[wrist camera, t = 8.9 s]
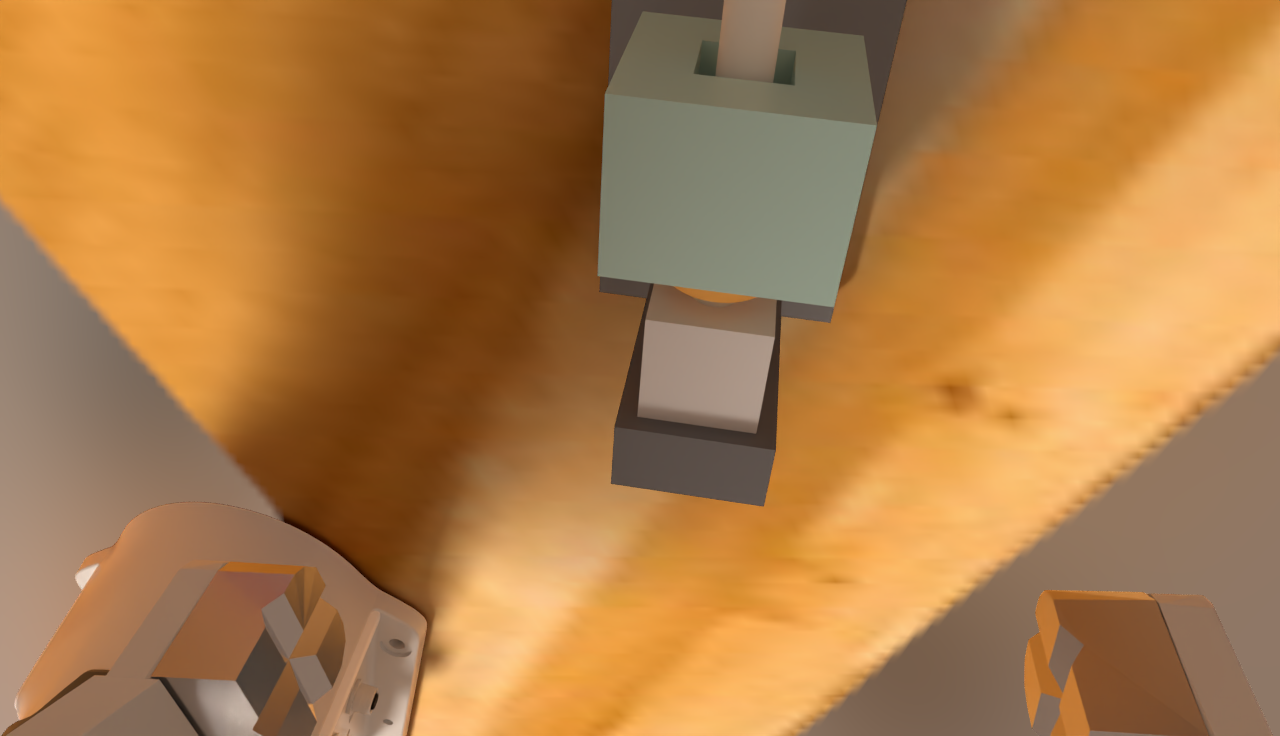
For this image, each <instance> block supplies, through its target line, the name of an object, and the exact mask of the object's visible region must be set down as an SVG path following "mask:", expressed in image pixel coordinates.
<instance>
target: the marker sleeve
mask: <svg viewBox="0 0 1280 736" xmlns="http://www.w3.org/2000/svg"><path fill="white" fill-rule="evenodd" d="M721 23H722V20H717V19H708V18H699V17H690V16H681V15H672V14H663V13H654V12H645V11H643V12H642V14H641V16H640V18H639V21H638V23H637V25H636V27H635V29H634V32H633V34H632V36H631V38H630V40H629V42H628V45H627V47H626V49H625V51H624V53H623V55H622V58H621V60H620V62H619V64H618V66H617V68H616V71H615V73H614V75H613V77H612V79H611V81H610V84H609V86H608V88H607V90H606V92H605V104H604V128H603V153H602V178H601V202H600V227H599V252H598V276H601V277H609V278H617V279H624V280H632V281H639V282H647V283H654V284H662V285H669V286H677V287H684V288H692V289H700V290H707V291H715V292H722V293H730V294H737V295H745V296H752V297H760V298H767V299H775V300H783V301H790V302H798V303H805V304H813V305H820V306H828V307H834V305H835V301H836V296H837V292H838V288H839V284H840V279H841V275H842V271H843V267H844V263H845V258H846V254H847V250H848V246H849V241H850V237H851V233H852V229H853V225H854V220H855V216H856V212H857V208H858V203H859V199H860V195H861V191H862V187H863V182H864V178H865V174H866V170H867V165H868V161H869V157H870V153H871V149H872V144H873V140H874V136H875V132H876V127H877V123H876V116H875V109H874V102H873V96H872V89H871V82H870V75H869V69H868V62H867V55H866V48H865V42H864V36H862V35H853V34H844V33H834V32H825V31H816V30H807V29H798V28H789V27H782V29H781V36H780V42H779V48H778V55H777V61H776V67H775V74H774V80H773V83H768V82H760V81H751V80H742V79H734V78H725V77H716V76H715V74H716V66H717V57H718V49H719V40H720V31H721Z"/></svg>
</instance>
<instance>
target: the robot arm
mask: <svg viewBox="0 0 1280 736" xmlns="http://www.w3.org/2000/svg"><path fill="white" fill-rule="evenodd" d="M75 579H76V582H77V583H78V585H79V587H80V588H81V589H82V591H81V593H80V595H79V596H78V597H77V599H76V601H75V602H74V604H73V605H72V607H71V608H70V610H69V612H68V613H67V615H66V616H65V618H64V619H63V621H62V622H61V624H60V626H59V627H58V629H57V630H56V632H55V633H54V635H53V636H52V638H51V640H50V641H49V643H48V644H47V646H46V648H45V649H44V651H43V652H42V654H41V656H40V657H39V659H38V660H37V662H36V663H35V665H34V667H33V669H32V670H31V671H30V673H29V675H28V676H27V678H26V680H25V681H24V683H23V684H22V686H21V688H20V689H19V691H18V693H17V696H16V699H15V708H16V710H17V715H18V718H19V721H17V722H15V723H14V724H12V725H11V726H9V727H8V728H7V729H6V731H5V732H4V733H3V734H2V736H407V731H408V726H409V720H410V715H411V710H412V705H413V699H414V694H415V689H416V683H417V678H418V673H419V668H420V662H421V657H422V652H423V646H424V641H425V636H426V631H427V622H426V620H425V618H424V617H423V616H422V615H421V614H420V613H419V612H418V611H416V610H415V609H413V608H412V607H410V606H409V605H407V604H405V603H404V602H402V601H400V600H398V599H396V598H394V597H393V596H391V595H389V594H387V593H385V592H383V591H381V590H379V589H378V588H377V587H375V586H374V585H373V584H372V583H370V582H369V581H368V580H367V579H366V578H365V577H364V576H363V575H362V574H361V573H360V572H359V571H357V570H356V569H355V568H354V567H353V566H352V565H351V564H350V563H349V562H348V561H347V560H345V559H344V558H343V557H342V556H340V555H339V554H338V553H337V552H335V551H334V550H332V549H331V548H330V547H328V546H327V545H325V544H324V543H322V542H321V541H319V540H317V539H316V538H314V537H312V536H311V535H309V534H307V533H305V532H303V531H301V530H299V529H297V528H295V527H293V526H291V525H289V524H287V523H285V522H282V521H280V520H277V519H275V518H272V517H269V516H267V515H264V514H260V513H257V512H254V511H251V510H247V509H243V508H239V507H234V506H229V505H224V504H217V503H207V502H180V503H171V504H166V505H161V506H158V507H155V508H152V509H149V510H147V511H145V512H143V513H141V514H140V515H138V516H136V517H135V518H134V519H133V520H132V521H131V522H130V523H129V524H128V525H127V526H126V528H125V529H124V531H123V532H122V534H121V536H120V537H119V539H118V541H117V542H116V543H115V544H114V545H113V546H112V547H110V548H107V549H104V550H101V551H98V552H96V553H93V554H91V555H90V556H88V557H87V558H86V559H85V560H84V562H83V563H82V565H81V566H80V568H79V570H78V571H77V573H76V575H75ZM1035 614H1036V618H1037V622H1038V626H1039V631H1040V632H1039V633H1038V634H1036V635H1035V636H1034V637H1032V638H1030V639H1029V641H1028V646H1027V651H1026V656H1025V681H1024V682H1025V683H1024V685H1025V693H1026V701H1027V707H1028V712H1029V716H1030V721H1031V726H1032V729H1033V730H1034V731H1035V732H1036V733H1037V734H1038V735H1039V736H1273V734H1272V732H1271V730H1270V728H1269V725H1268V723H1267V721H1266V719H1265V717H1264V715H1263V712H1262V710H1261V708H1260V706H1259V704H1258V702H1257V699H1256V697H1255V695H1254V693H1253V691H1252V688H1251V687H1250V684H1249V682H1248V680H1247V678H1246V676H1245V673H1244V671H1243V669H1242V667H1241V665H1240V662H1239V660H1238V658H1237V656H1236V654H1235V652H1234V649H1233V647H1232V645H1231V643H1230V641H1229V638H1228V636H1227V634H1226V632H1225V630H1224V628H1223V626H1222V623H1221V621H1220V619H1219V617H1218V615H1217V612H1216V610H1215V608H1214V606H1213V604H1212V603H1211V602H1210V601H1209V600H1208V599H1207V598H1206V597H1205V596H1203V595H1179V594H1178V595H1177V594H1145V593H1144V592H1108V591H1106V592H1105V591H1104V592H1103V591H1062V590H1059V591H1058V590H1044V592H1043V593H1042V594H1041V596H1040V597H1039V600H1038V603H1037V608H1036V611H1035Z"/></svg>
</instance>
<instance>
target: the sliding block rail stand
mask: <svg viewBox="0 0 1280 736" xmlns="http://www.w3.org/2000/svg"><path fill="white" fill-rule="evenodd" d="M906 2H907V0H612V10H611V33H610V57H609V80H608V86H609V84H610V81H611V79H612V77H613V75H614V73H615V71H616V68H617V66H618V64H619V62H620V60H621V58H622V55H623V53H624V51H625V49H626V47H627V45H628V42H629V40H630V38H631V36H632V34H633V32H634V29H635V27H636V25H637V23H638V21H639V18H640V16H641V14H642V12H643V11H645V12H654V13H663V14H672V15H681V16H690V17H699V18H708V19H717V20H722V23H721V31H720V40H719V49H718V57H717V66H716V74H715V76H716V77H725V78H734V79H742V80H751V81H760V82H768V83H773V80H774V74H775V67H776V61H777V55H778V48H779V42H780V36H781V29H782V27H789V28H798V29H807V30H816V31H825V32H834V33H844V34H853V35H862V36H864V42H865V48H866V55H867V62H868V69H869V75H870V82H871V89H872V96H873V102H874V109H875V116H876V123H877V124H878V120H879V115H880V111H881V107H882V103H883V99H884V94H885V90H886V86H887V82H888V77H889V73H890V69H891V65H892V61H893V56H894V52H895V48H896V44H897V40H898V35H899V31H900V27H901V23H902V18H903V14H904V10H905V6H906ZM876 128H877V127H876ZM874 137H875V136H874ZM873 141H874V140H873ZM872 145H873V144H872ZM869 158H870V157H869ZM868 162H869V161H868ZM867 166H868V165H867ZM865 175H866V174H865ZM864 179H865V178H864ZM863 183H864V182H863ZM860 196H861V195H860ZM859 200H860V199H859ZM858 204H859V203H858ZM856 213H857V212H856ZM855 217H856V216H855ZM854 221H855V220H854ZM851 234H852V233H851ZM850 238H851V237H850ZM849 242H850V241H849ZM847 251H848V250H847ZM846 255H847V254H846ZM845 259H846V258H845ZM842 272H843V271H842ZM841 276H842V275H841ZM840 280H841V279H840ZM838 289H839V288H838ZM599 292H604V293H612V294H619V295H627V296H634V297H642V298H647V299H646V303H645V307H644V311H643V315H642V319H641V323H640V327H639V331H638V335H637V339H636V343H635V347H634V351H633V355H632V359H631V363H630V367H629V371H628V375H627V379H626V383H625V387H624V391H623V395H622V399H621V403H620V407H619V411H618V415H617V419H616V423H615V428H614V444H613V460H612V477H611V484H616V485H623V486H630V487H637V488H643V489H650V490H657V491H663V492H670V493H677V494H684V495H690V496H697V497H704V498H710V499H717V500H724V501H730V502H737V503H744V504H751V505H757V506H764V503H765V498H766V493H767V489H768V484H769V479H770V475H771V470H772V465H773V461H774V456H775V451H776V431H777V406H778V380H779V355H780V330H781V316H784V317H791V318H799V319H806V320H814V321H821V322H828V323H830V322H831V318H832V314H833V310H834V307H828V306H820V305H813V304H805V303H798V302H790V301H783V300H775V299H767V298H760V297H752V296H745V295H737V294H730V293H722V292H715V291H707V290H700V289H692V288H684V287H677V286H669V285H662V284H654V283H647V282H639V281H632V280H624V279H617V278H609V277H601V276H600V291H599ZM837 293H838V292H837ZM836 297H837V296H836Z"/></svg>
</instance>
